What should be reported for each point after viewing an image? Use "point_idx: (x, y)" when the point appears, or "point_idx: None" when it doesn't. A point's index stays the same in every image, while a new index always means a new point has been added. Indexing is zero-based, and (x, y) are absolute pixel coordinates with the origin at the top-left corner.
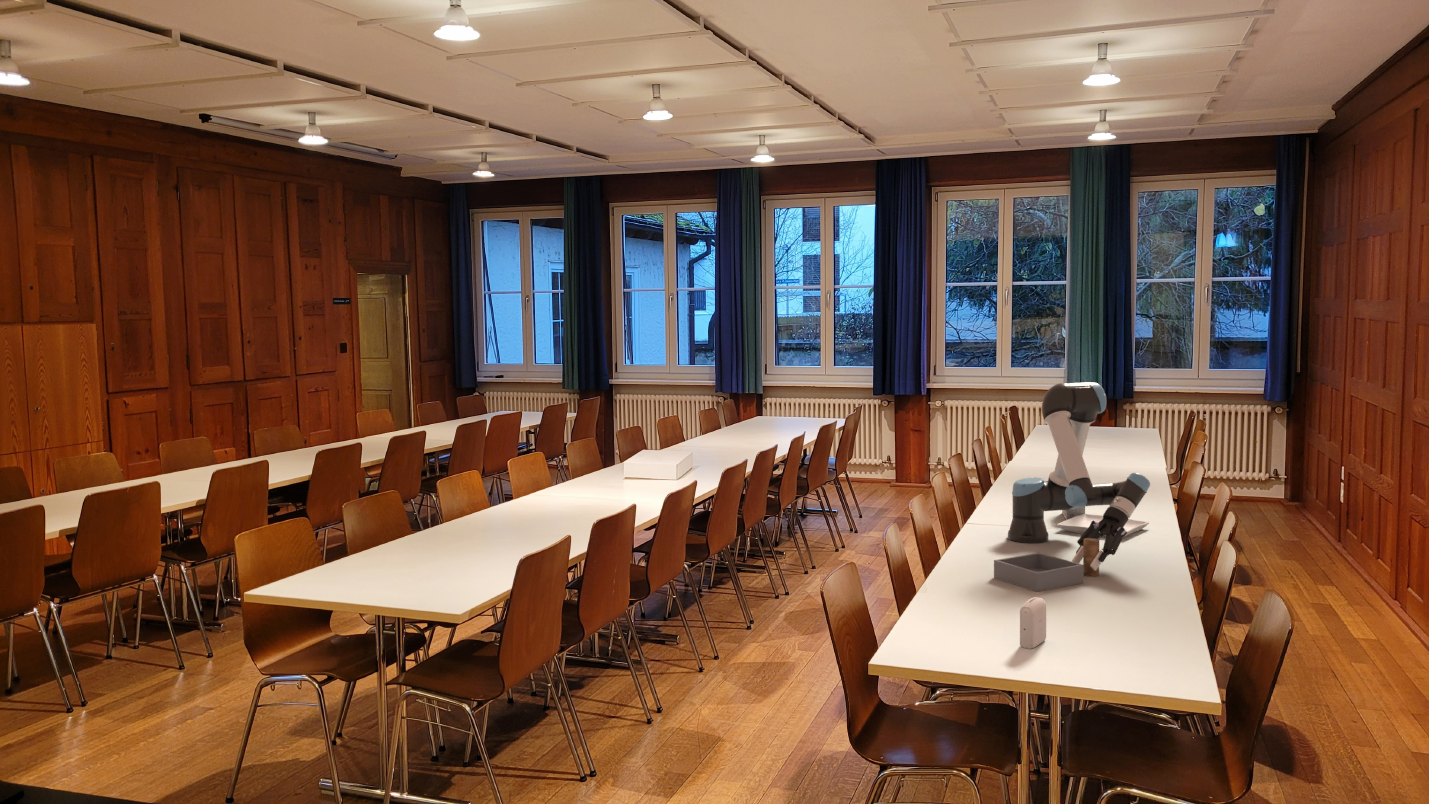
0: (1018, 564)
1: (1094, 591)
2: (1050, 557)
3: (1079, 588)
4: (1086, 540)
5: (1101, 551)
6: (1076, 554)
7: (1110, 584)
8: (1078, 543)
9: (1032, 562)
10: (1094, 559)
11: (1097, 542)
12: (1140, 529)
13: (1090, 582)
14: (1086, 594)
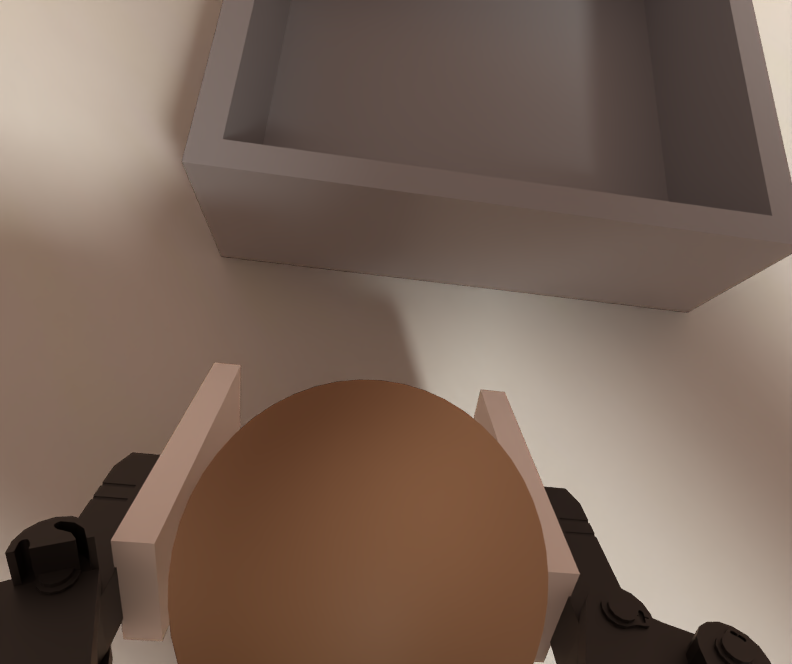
0: (689, 70)
1: (24, 132)
2: (610, 197)
3: (153, 124)
4: (379, 392)
5: (118, 530)
6: (519, 449)
7: (22, 384)
8: (704, 637)
9: (704, 194)
10: (208, 417)
11: (179, 552)
12: None
13: (188, 309)
14: (31, 44)
